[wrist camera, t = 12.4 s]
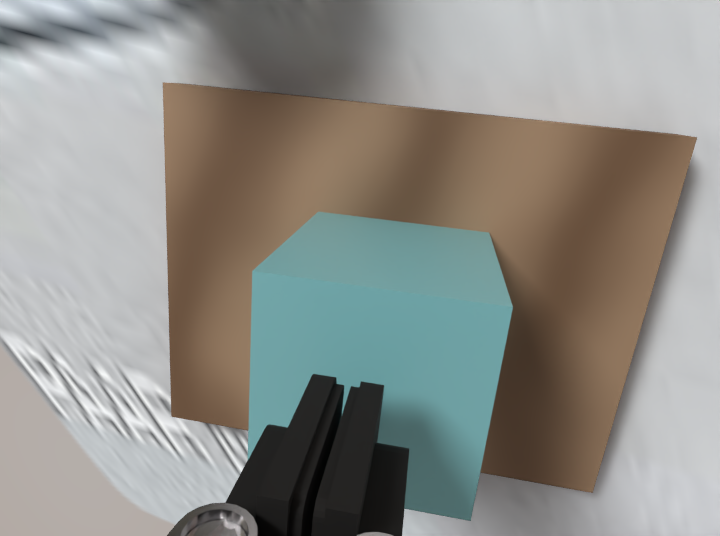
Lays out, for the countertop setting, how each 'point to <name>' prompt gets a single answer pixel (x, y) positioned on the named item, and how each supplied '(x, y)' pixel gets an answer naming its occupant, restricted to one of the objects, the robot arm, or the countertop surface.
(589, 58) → the countertop surface
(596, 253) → the walnut board
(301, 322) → the aqua foam cube
